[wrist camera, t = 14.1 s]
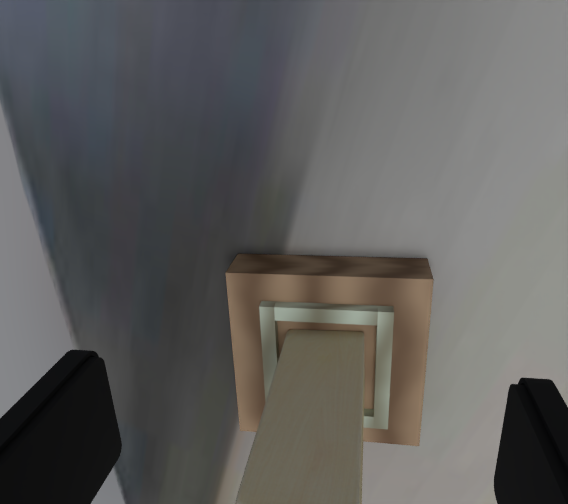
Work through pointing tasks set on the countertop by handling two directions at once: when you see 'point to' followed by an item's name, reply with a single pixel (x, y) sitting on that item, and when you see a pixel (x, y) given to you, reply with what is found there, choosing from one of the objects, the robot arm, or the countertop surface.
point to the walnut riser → (335, 329)
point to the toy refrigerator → (311, 424)
